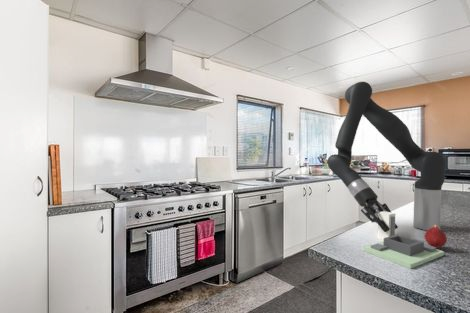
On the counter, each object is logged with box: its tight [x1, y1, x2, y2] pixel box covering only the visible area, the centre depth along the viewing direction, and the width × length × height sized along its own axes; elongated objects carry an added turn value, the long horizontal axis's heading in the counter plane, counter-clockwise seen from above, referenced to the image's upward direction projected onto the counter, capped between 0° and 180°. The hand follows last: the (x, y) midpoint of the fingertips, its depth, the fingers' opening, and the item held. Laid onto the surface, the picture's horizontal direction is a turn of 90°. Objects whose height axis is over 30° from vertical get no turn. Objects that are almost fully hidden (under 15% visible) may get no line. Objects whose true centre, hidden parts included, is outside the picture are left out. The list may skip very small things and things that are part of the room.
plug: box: [377, 211, 396, 241], centre depth 92 cm, size 4×5×10 cm
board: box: [363, 234, 445, 270], centre depth 79 cm, size 20×14×4 cm
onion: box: [424, 225, 448, 250], centre depth 83 cm, size 6×6×8 cm
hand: (391, 229), depth 90 cm, fingers open, 4 cm apart
